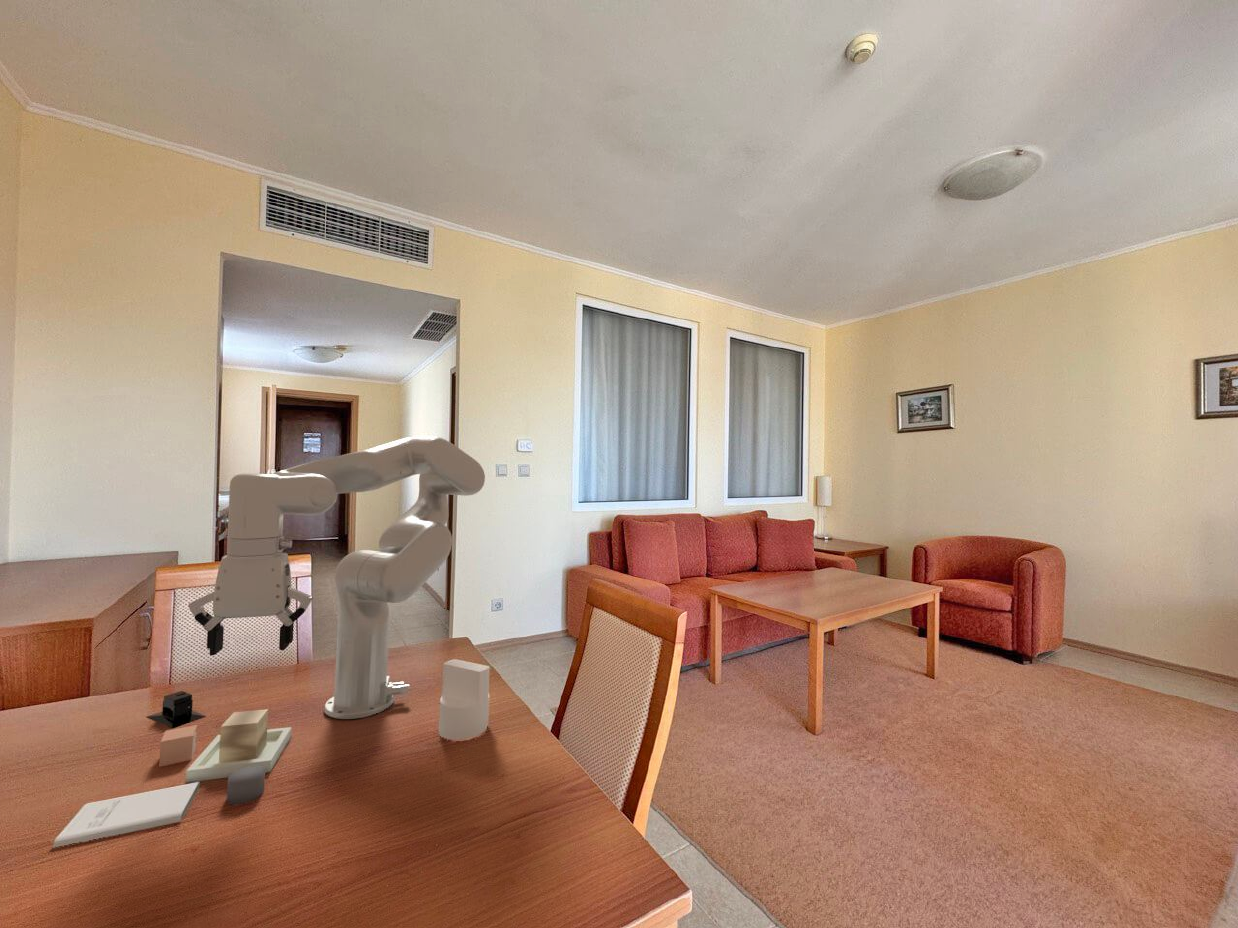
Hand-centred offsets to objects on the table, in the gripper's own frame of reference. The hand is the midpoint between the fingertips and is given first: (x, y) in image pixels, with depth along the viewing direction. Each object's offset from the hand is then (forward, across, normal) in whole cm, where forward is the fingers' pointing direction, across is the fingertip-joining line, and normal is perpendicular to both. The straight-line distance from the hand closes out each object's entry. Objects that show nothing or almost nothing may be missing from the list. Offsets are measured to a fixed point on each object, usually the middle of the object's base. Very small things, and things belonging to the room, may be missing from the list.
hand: (250, 649), depth 84 cm
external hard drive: (+18, +9, +12) cm, 24 cm away
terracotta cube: (+18, +10, -3) cm, 21 cm away
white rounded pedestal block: (+18, -35, -1) cm, 39 cm away
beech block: (+17, 0, 0) cm, 17 cm away
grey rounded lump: (+18, -4, +11) cm, 21 cm away
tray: (+18, 0, 0) cm, 18 cm away
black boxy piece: (+18, +17, -19) cm, 32 cm away
